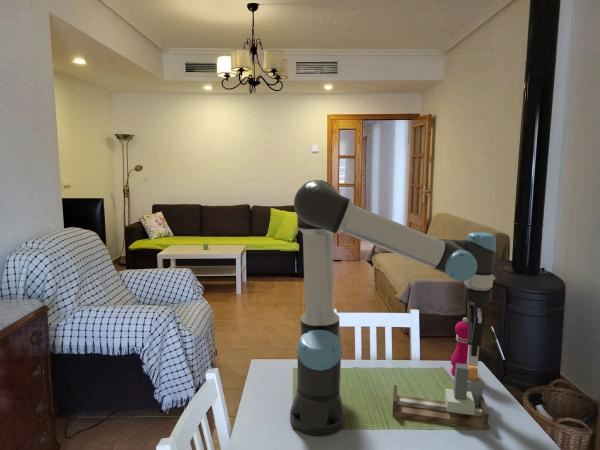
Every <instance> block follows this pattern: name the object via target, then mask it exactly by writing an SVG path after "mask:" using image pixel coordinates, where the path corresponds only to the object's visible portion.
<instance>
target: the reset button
mask: <svg viewBox="0 0 600 450" xmlns="http://www.w3.org/2000/svg"><path fill="white" fill-rule="evenodd" d="M467 366H468V369H469V371H468V380H473V381H477V377H478V374H479V369H478V366H470V365H467Z"/></svg>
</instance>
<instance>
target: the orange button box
mask: <svg viewBox="0 0 600 450" xmlns="http://www.w3.org/2000/svg"><path fill="white" fill-rule="evenodd" d="M467 391H468V392H471V393H472V396H473V400H474V403H475V406H479V396H482V397H484V396H483V395H484V394H483V393H484V381H483V378H482V375H481V373H478V377H477V381H473V380H468V384H467Z"/></svg>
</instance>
